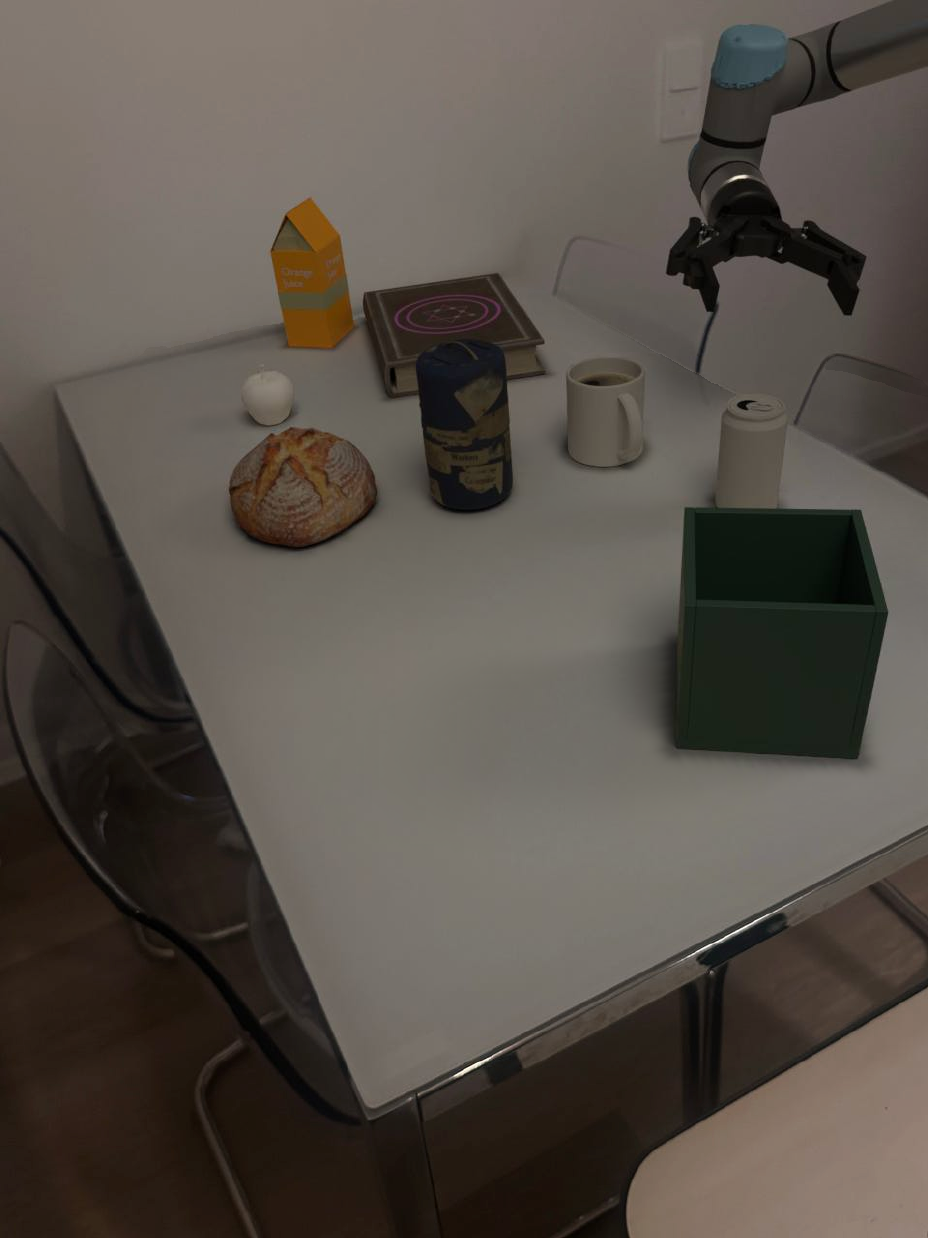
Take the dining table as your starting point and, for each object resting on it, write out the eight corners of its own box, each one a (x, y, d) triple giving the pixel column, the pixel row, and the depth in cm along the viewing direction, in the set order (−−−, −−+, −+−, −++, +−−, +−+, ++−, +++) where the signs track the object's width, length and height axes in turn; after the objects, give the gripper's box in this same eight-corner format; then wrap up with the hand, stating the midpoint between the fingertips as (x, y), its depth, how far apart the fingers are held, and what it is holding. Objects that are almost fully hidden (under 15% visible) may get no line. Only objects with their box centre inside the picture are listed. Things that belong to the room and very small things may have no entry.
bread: (239, 573, 107) (211, 492, 101) (239, 485, 123) (215, 411, 117) (389, 539, 108) (370, 457, 102) (370, 456, 123) (353, 381, 117)
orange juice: (355, 327, 161) (334, 195, 149) (333, 348, 154) (309, 212, 142) (311, 325, 163) (287, 196, 151) (287, 346, 156) (260, 213, 144)
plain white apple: (250, 435, 132) (237, 378, 127) (244, 414, 137) (231, 358, 132) (302, 424, 133) (291, 367, 128) (294, 404, 138) (283, 348, 134)
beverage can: (729, 488, 110) (737, 386, 103) (786, 502, 107) (799, 397, 100) (704, 515, 106) (711, 410, 99) (763, 530, 103) (774, 423, 96)
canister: (449, 525, 109) (432, 368, 99) (418, 488, 116) (399, 338, 106) (528, 501, 112) (520, 346, 101) (493, 467, 119) (482, 318, 108)
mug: (575, 431, 125) (574, 354, 119) (652, 434, 122) (655, 356, 116) (558, 473, 116) (555, 393, 110) (640, 478, 114) (642, 396, 108)
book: (545, 374, 139) (544, 339, 136) (387, 398, 137) (382, 364, 134) (500, 303, 164) (498, 272, 161) (365, 323, 162) (360, 292, 159)
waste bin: (837, 648, 87) (861, 509, 79) (858, 759, 77) (888, 611, 68) (677, 642, 90) (684, 506, 81) (676, 748, 79) (684, 605, 71)
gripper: (840, 246, 116) (896, 339, 101) (625, 240, 115) (649, 332, 100) (860, 180, 110) (922, 267, 95) (634, 173, 110) (661, 260, 95)
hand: (782, 301), depth 98 cm, fingers open, 13 cm apart
